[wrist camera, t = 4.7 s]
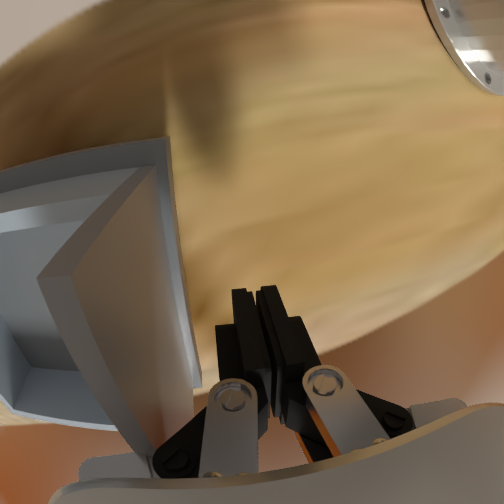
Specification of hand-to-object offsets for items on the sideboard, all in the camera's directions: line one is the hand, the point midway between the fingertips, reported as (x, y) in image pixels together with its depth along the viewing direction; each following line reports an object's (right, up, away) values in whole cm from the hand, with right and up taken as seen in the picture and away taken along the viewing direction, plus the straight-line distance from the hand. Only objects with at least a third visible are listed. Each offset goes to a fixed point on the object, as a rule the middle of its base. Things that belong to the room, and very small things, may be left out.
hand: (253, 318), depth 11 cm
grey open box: (-10, +2, +4) cm, 11 cm away
